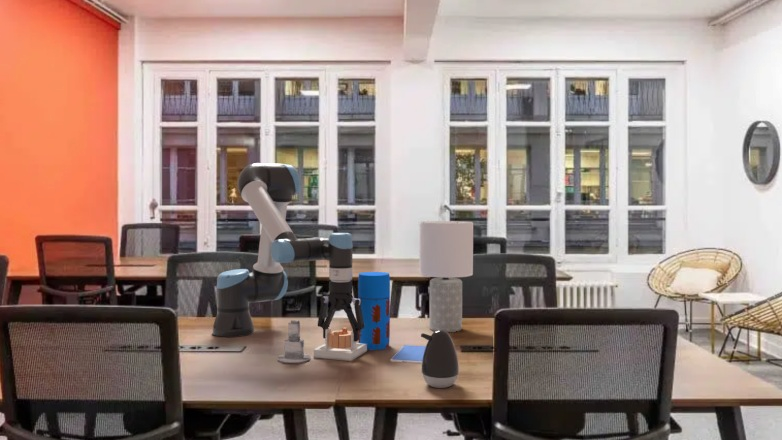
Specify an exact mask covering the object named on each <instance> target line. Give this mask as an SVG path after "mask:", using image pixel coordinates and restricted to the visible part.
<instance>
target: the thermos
mask: <svg viewBox="0 0 782 440" xmlns="http://www.w3.org/2000/svg"><path fill="white" fill-rule="evenodd" d="M357 279H358V280H357V281H358V288H357V289H358V291H357V295H358V296H357V297H358V298H357V299H359V298H360V299H361V300H362V301H361V310H362V315H363V321H364V329H362V330H359V340H358V343H363V344H367V351H368V350H369V351H377V350H385V349H388V348H389V347H390V339H391V338H390V337H391V336H390V335H391V332H390V331H391V330H390V327H391V324H390V323H391V318H390V317H391V312H390V310H391V309H390V307H391V303H390V302H391V290H390V289H391V288H390V287H391V277H390V273H389V272H383V271H364V272H363V271H362V272H360V273H358V278H357Z"/></svg>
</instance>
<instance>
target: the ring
mask: <svg viewBox="0 0 782 440" xmlns="http://www.w3.org/2000/svg"><path fill="white" fill-rule="evenodd" d="M351 331H352V330H348V327H343V328H342V329H341V330H331V332H329V333H328V346H329V347H331V348H349V347H351Z"/></svg>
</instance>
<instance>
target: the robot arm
mask: <svg viewBox="0 0 782 440" xmlns="http://www.w3.org/2000/svg"><path fill="white" fill-rule="evenodd" d="M237 190H238V193H239V195H240V197H241V199H242V200H243V201H244V202H246V203H248V204H249V206H250V208H251V209H252V212H253V213H254V214H255V216H256V218H257V219H258V221H259V223H260V224H261V226H260V227H261V230H260V237H259V246H258V255H257V256H258V257H257V262H256V263H254V264H253V266H252V272H250V271H249V269H247V268H240V269H239V268H238V269H230V270H227V271H223V272H221V273H219V275H218V276H217V279H216V280H217V281H216V304H217V307H216V309H217V312H216V316H215V319H214V321H213V322H214V323H213V325H212V335H214V336H216V337H226V338H233V337H234V338H235V337H242V336H243V337H244V336H248V335H251V334H253V333H254V332H255V325H254V322H253V319H252V315H251V313H250V304H251V303H252V304H253V303H261V302H262V303H263V302H272V301H277V300H280V299H281V298H283V297H284V296H285V294H286V293H287V291H288V285H289V280H288V275H287V273H286V271H284V266H282V265H281V264H283V263H284V264H289V263H299V262H312V261H313V262H314V261H328V265H329V266H328V267H329V270H328V271H329V272H328V275H329V277H328V279H329V280H330V281H329V283H328V287H329V288H328V289H329V290H328V292H329V294H328V296H327V295H324V296H322V297H320V307H319V314H318V319H317V327H319V328H322V337H323V339H325V341H324V344H325V349H327V350H328V349H329V348H331V347H329V346H328V333H329V332H331V331H332V328H331V327H330V325H331V322H332V320H333V318H334V316H335V314H336V311H337V310H342V311H344V313H345V315H346V317H347V320H348V321H349V323H350V326H351V329H352V330H350V331H351V351H352V350H354V349H356V343H357V342H359V330H362V329H364V321H363V315H362V310H361V301H362V300H361V299H360V298H359V299H358V298H355V297H354V296H353V281H352V280H353V251H354V250H353V248H354V244H353V235H352V234H351V233H349V232H331V233H330V234H329V235H328V236H329V237H324V236H315V237H307V238H298V237H297V236H296V235H295V233H294V232H293V229H291V227H290V225H289V224H288V222H287V220H286V219H287V218H286V217H287V209H288V205H289V204H290V203H292V201H293V197H294V196H296V195H297V194H299V193H298V192H299V191H300V190H301V179H300V175H299V172H298V170H297V169H296V167H295V166H293V165H291V164H285V163H270V162H269V163H267V162H266V163H262V162H256V163H255V162H254V163H250V164H248V165H247V166H245V167H244V168H243V169H242V171H240V174H239V176H238V178H237ZM328 303H330V304H331V305H330V307H329V309H328ZM352 303H353V304H352ZM351 304H352V305H354V311H355V315H354V312H353V308H352V305H351ZM327 309H328V313H327Z"/></svg>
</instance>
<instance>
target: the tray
mask: <svg viewBox="0 0 782 440" xmlns="http://www.w3.org/2000/svg"><path fill="white" fill-rule="evenodd" d="M366 352H368V349H367V344H363V343H359V342H356V349H354V350H352V351H351V347H349V348H329V349H328V350H327V349H325V343H324V344H321V345H320V346H317V347H315V348H313V358H318V359H328V360H338V361H347V362H352V361H354V360H355V359H357V358H358V357H360V356H362V355H363V354H365V353H366Z"/></svg>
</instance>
